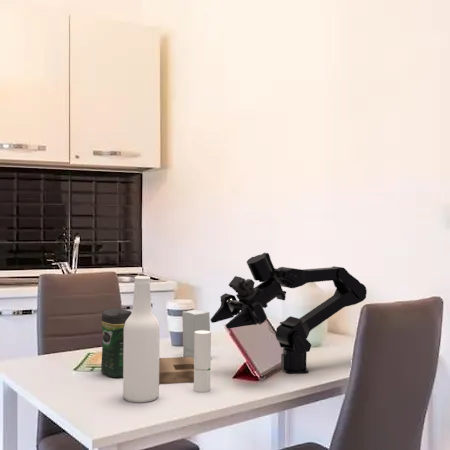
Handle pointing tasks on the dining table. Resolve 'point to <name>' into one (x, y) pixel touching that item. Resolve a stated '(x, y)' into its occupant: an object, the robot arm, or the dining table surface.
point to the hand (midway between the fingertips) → (218, 324)
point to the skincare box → (193, 328)
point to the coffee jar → (113, 341)
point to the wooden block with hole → (176, 370)
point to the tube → (202, 360)
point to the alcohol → (141, 347)
